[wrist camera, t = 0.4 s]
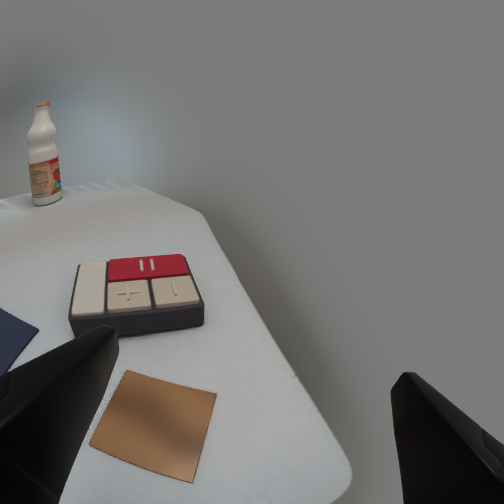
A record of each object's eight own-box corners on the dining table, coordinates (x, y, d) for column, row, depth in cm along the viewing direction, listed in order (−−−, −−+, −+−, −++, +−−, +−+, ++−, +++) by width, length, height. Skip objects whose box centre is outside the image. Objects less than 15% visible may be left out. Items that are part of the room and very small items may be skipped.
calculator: (206, 300, 28) (65, 314, 22) (204, 329, 30) (76, 343, 24) (184, 250, 37) (77, 258, 31) (184, 276, 39) (82, 285, 33)
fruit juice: (32, 201, 60) (24, 108, 47) (58, 192, 67) (53, 102, 53) (36, 209, 55) (28, 105, 42) (65, 199, 62) (60, 98, 49)
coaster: (192, 483, 14) (192, 482, 14) (89, 445, 15) (88, 443, 15) (216, 395, 22) (216, 393, 22) (127, 371, 23) (126, 369, 23)
